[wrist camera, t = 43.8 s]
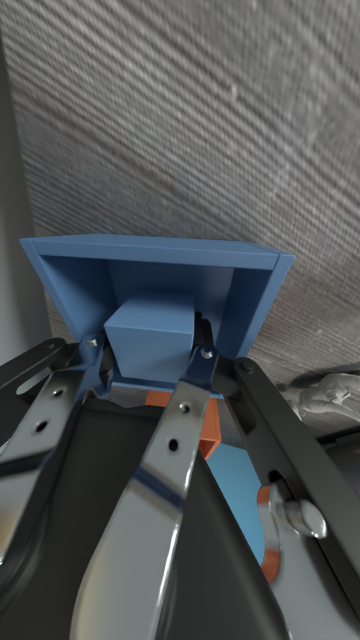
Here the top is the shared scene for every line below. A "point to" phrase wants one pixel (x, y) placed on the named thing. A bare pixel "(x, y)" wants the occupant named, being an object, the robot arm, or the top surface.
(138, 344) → the blue block
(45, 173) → the top surface
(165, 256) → the blue bin
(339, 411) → the soldier figure
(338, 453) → the bluetooth speaker
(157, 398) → the terracotta bin
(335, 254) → the top surface
